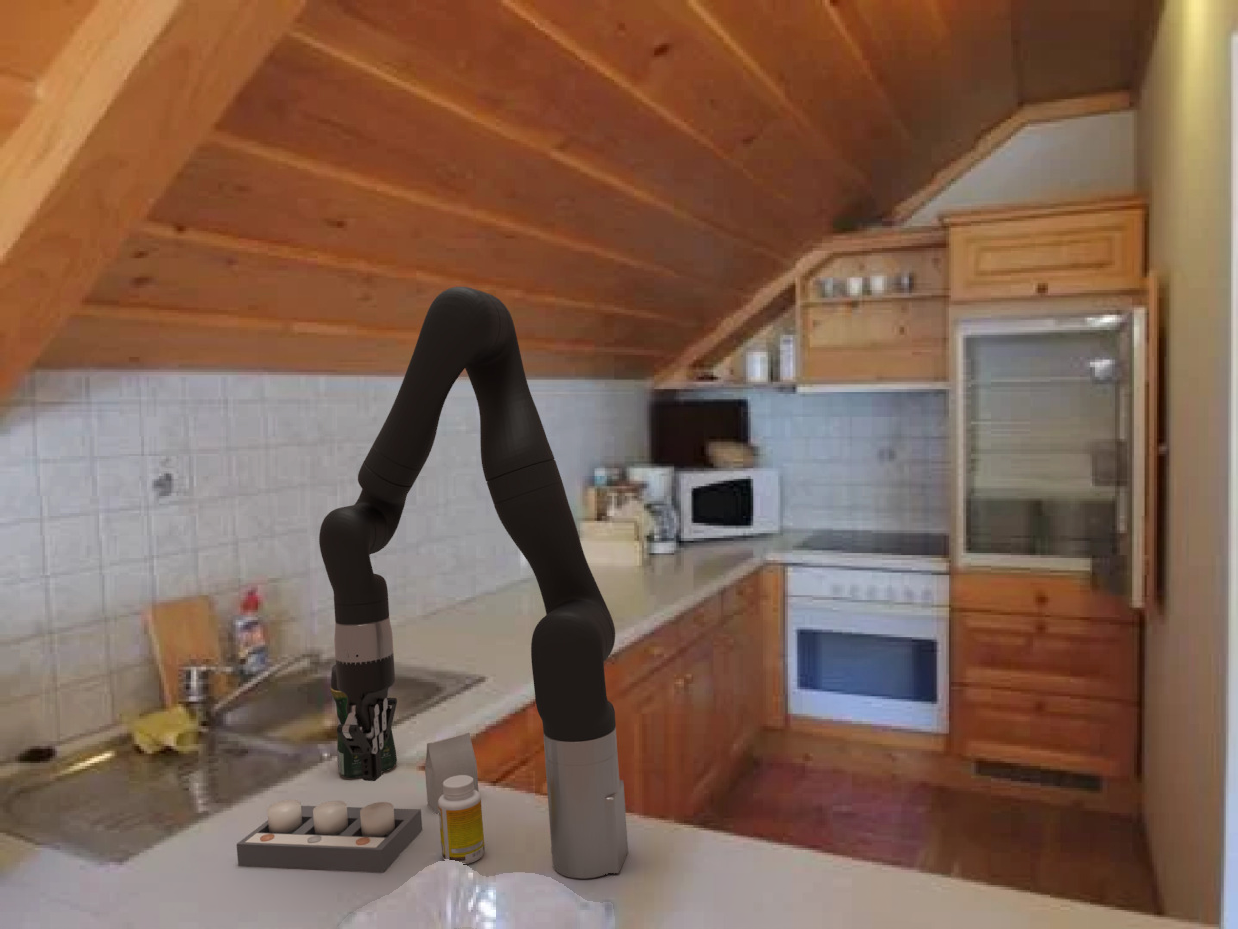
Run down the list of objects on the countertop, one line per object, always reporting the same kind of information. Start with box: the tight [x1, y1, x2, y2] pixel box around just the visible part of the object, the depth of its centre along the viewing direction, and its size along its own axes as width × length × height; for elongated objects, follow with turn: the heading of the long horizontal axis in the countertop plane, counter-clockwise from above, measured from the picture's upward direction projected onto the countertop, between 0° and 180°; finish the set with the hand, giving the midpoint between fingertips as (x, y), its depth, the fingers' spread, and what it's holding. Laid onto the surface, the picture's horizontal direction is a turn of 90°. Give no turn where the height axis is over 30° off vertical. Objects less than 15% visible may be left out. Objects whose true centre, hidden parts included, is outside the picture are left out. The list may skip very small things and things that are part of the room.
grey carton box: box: [424, 732, 480, 815], centre depth 136 cm, size 4×7×10 cm, turn 124°
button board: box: [236, 805, 423, 873], centre depth 124 cm, size 21×12×3 cm, turn 78°
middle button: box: [313, 800, 348, 835], centre depth 124 cm, size 4×4×3 cm
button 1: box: [266, 799, 302, 834], centre depth 125 cm, size 4×4×3 cm
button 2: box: [360, 801, 395, 837], centre depth 123 cm, size 4×4×3 cm
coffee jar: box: [329, 664, 398, 779], centre depth 152 cm, size 10×8×19 cm
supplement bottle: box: [438, 775, 485, 865], centre depth 119 cm, size 6×6×10 cm
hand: (372, 778), depth 122 cm, fingers closed
